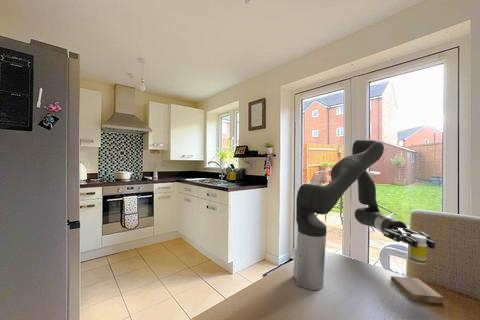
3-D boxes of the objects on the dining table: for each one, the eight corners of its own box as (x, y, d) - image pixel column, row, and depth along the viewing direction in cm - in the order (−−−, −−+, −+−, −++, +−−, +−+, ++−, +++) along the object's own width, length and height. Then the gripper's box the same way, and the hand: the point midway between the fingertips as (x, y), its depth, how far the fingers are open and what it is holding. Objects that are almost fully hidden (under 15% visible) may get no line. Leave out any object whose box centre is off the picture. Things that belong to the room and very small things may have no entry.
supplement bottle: (429, 266, 67) (431, 239, 67) (412, 263, 68) (414, 238, 68) (420, 258, 72) (422, 234, 71) (404, 256, 73) (406, 232, 72)
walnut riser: (412, 300, 65) (412, 294, 65) (390, 281, 75) (391, 276, 75) (442, 303, 65) (443, 297, 65) (417, 283, 75) (417, 278, 75)
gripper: (372, 216, 84) (402, 231, 67) (409, 218, 83) (449, 235, 66) (370, 234, 84) (400, 255, 67) (407, 237, 84) (447, 258, 67)
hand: (424, 245), depth 67 cm, fingers closed on supplement bottle, 4 cm apart
